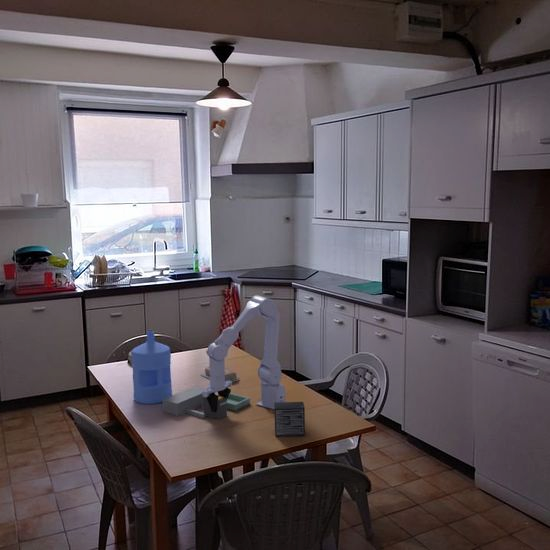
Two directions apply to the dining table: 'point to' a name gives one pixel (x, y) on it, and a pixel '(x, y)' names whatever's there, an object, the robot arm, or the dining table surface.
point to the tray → (237, 402)
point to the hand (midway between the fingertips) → (218, 409)
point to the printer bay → (185, 402)
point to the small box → (289, 419)
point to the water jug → (151, 371)
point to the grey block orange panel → (221, 408)
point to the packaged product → (228, 375)
